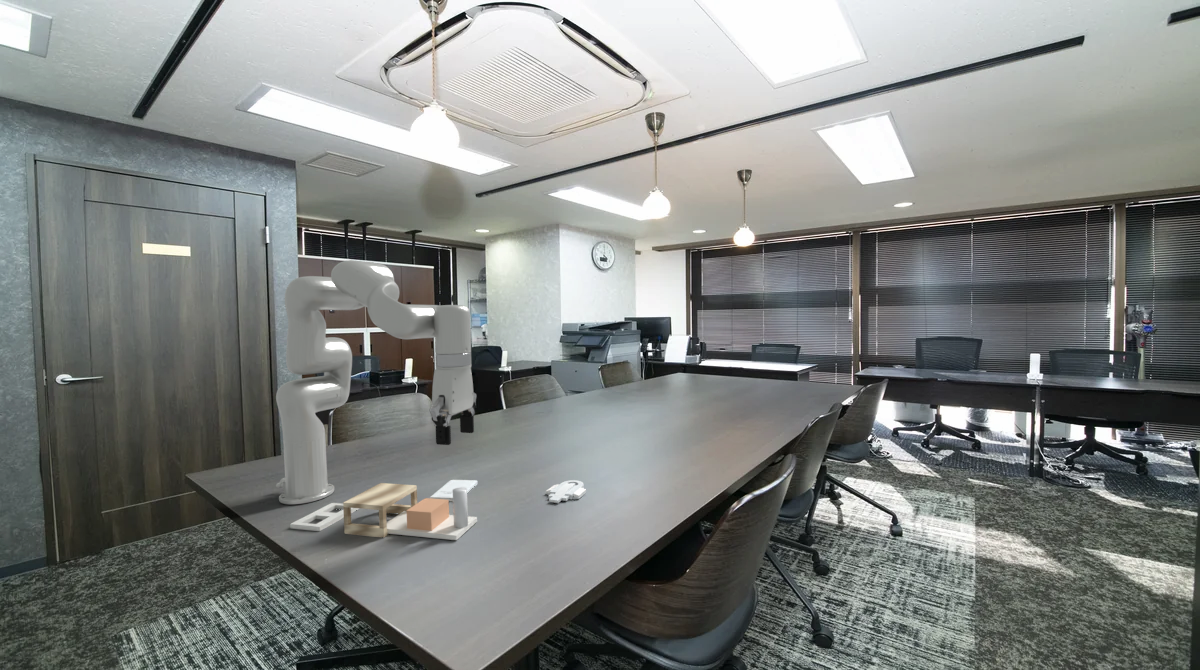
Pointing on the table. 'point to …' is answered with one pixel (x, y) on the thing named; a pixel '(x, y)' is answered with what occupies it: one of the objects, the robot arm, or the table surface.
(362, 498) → the tunnel
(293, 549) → the table surface
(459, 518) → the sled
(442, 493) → the external hard drive
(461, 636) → the table surface
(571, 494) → the toy rocket
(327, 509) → the frame
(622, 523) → the table surface
